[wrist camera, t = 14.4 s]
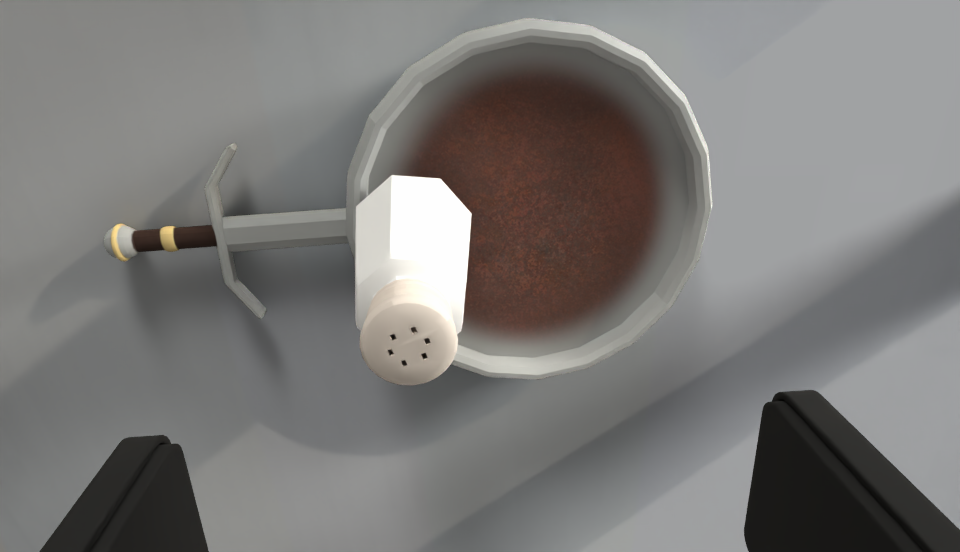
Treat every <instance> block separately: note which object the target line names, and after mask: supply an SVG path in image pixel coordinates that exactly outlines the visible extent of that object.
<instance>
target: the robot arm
mask: <svg viewBox="0 0 960 552" xmlns="http://www.w3.org/2000/svg"><path fill="white" fill-rule="evenodd" d="M744 536H745V542H746V545H747V548H748V551H749V552H960V530H959V529H958V528H957V527H956V526H955V525H954V524H953V523H952V522H951V521H950V520H949V519H948V518H947V517H946V516H945V515H944V514H943V513H942V512H941V511H940V510H939V509H938V508H937V507H936V506H935V505H934V504H933V503H932V502H931V501H930V500H928V499H927V498H926V497H925V496H924V495H923V494H922V493H921V492H920V491H919V490H918V489H917V488H916V487H915V486H914V485H913V484H912V483H911V482H910V481H909V480H908V479H907V478H906V477H905V476H904V475H903V474H902V473H901V472H900V471H899V470H898V469H897V468H896V467H895V466H894V465H893V464H892V463H891V462H889V461H888V460H887V459H886V458H885V457H884V456H883V455H882V454H881V453H880V452H879V451H878V450H877V449H876V448H875V447H874V446H873V445H872V444H871V443H870V442H869V441H868V440H867V439H866V438H865V437H864V436H863V435H862V434H861V433H860V432H859V431H858V430H857V429H856V428H855V427H854V426H853V425H851V424H850V423H849V422H848V421H847V420H846V419H845V418H844V417H843V416H842V415H841V414H840V413H839V412H838V411H837V410H836V409H835V408H834V407H833V406H832V405H831V404H830V403H829V402H828V401H827V400H826V399H825V398H824V397H823V396H822V395H821V394H819V393H818V392H817V391H814V390H804V391H790V392H779V393H777V394H775V396H774V397H773V400H772V402H767V403H766V404H765V405H764V407H763V411H762V418H761V424H760V430H759V437H758V443H757V450H756V456H755V463H754V469H753V475H752V482H751V488H750V495H749V501H748V508H747V514H746V521H745V527H744ZM40 552H209V551H208V547H207V543H206V540H205V536H204V532H203V528H202V524H201V520H200V516H199V512H198V508H197V505H196V501H195V497H194V493H193V489H192V485H191V481H190V477H189V474H188V470H187V466H186V462H185V458H184V454H183V451H182V448H181V446H180V445H179V444H171V442H170V440H169V439H168V437H167V436H164V435H157V436H143V437H128V438H125V439H123V440H122V441H121V442H120V443H119V445H118V446H117V447H116V449H115V450H114V451H113V453H112V454H111V455H110V457H109V458H108V459H107V461H106V462H105V464H104V465H103V466H102V468H101V469H100V470H99V472H98V473H97V474H96V476H95V477H94V478H93V480H92V481H91V483H90V484H89V485H88V487H87V488H86V489H85V491H84V492H83V493H82V495H81V496H80V498H79V499H78V500H77V502H76V503H75V504H74V506H73V507H72V508H71V510H70V511H69V512H68V514H67V515H66V517H65V518H64V519H63V521H62V522H61V523H60V525H59V526H58V527H57V529H56V530H55V531H54V533H53V534H52V536H51V537H50V538H49V540H48V541H47V542H46V544H45V545H44V546H43V548H42V549H41V550H40Z"/></svg>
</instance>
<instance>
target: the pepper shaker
mask: <svg viewBox="0 0 960 552" xmlns="http://www.w3.org/2000/svg"><path fill="white" fill-rule="evenodd" d="M471 215H472V214H471V212H470V211H469V210H468V209H467V208H466V207H465V206H464V205H463V203H462V202H461V201H460V200H459V199H458V198H457V197H456V195H455V194H454V193H453V192H452V191H451V190H450V189H449V188H448V186H447V185H446V184H445V183H444V182H443V181H442V180H441V179H440V178H426V177H412V176H397V175H391V176H390V177H389V178H388V179H387V180H386V181H384V182H383V183H382V184H381V185H380V186H379V187H378V188H376V189H375V190H374V191H373V192H372V193H371V194H370V195H368V196H367V197H366V198H365V199H364V200H363V201H362V202H360V203H359V204H358V205H357V206H356V230H355V320H356V327H357V328H358V329H359V330H360V331H361V334H360V349H361V353H362V357H363V359H364V361H365V362H366V364H367V365H368V367H369V368H370V369H371V370H372V371H373V372H374V373H375V374H376V375H377V376H379V377H381V378H382V379H384V380H386V381H388V382H391V383H395V384H399V385H418V384H423V383H426V382H429V381H431V380H433V379H435V378H437V377H438V376H440V375H441V374H442V373H443V372H445V371H446V370H447V368H448V367H449V366H450V364H451V363H452V362H453V360H454V357H455V355H456V352H457V346H458V336H457V334H458V333H459V332H461V329H462V325H463V315H464V302H465V291H466V282H467V268H468V255H469V242H470V229H471Z"/></svg>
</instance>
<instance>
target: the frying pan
mask: <svg viewBox="0 0 960 552" xmlns="http://www.w3.org/2000/svg"><path fill="white" fill-rule="evenodd" d="M236 150H237V145H236V143H233V144H231V145H230V146H228V147H226V148H225V150H224V152H223V154H222V156H221V157H220V159H219V161H218V163H217V165H216V167H215V169H214V171H213V173H212V175H211V177H210V179H209V181H208V182H207V184H206V186H205V195H206V200H207V205H208V209H209V214H210V219H211V223H212V225H206V226H193V227H179V228H176V227H174V226H166V227H163V228H161V229H152V230H138V231H136V230H135V229H133V228H131V227H128V226H126V225H124V224H121V223H120V224H117V225H115V227H113V228H112V229H110V230H109V231H108V232H107V233H106V235H105V237H104V247H105V249H106V251H107V252H108V253H109V254H110V255H111V256H113V257H115V258H118V259H119V260H120V261H127V260H129V259H130V258H131V257H134V256H135V255H137V253H138V252H146V251H159V250H166V251H169V252H173V251H177V250H179V249H185V248H199V247H212V246H217V251H218V256H219V260H220V265H221V270H222V274H223V279H224V282H225V284H226V286H227V287H228V288H229V289H230V290H231V291H232V292H233V293H234V294H235V295H236V296H237V297H238V298H239V299H240V300H241V301H242V302H243V303H244V304H245V305H246V306H247V307H248V308H249V309H250V310H251V311H252V312H253V313H254V314H255V316H256V317H258V318H259V319H263V317H264V315H265V313H266V310H267V309H266V308H265V307H264V306H263V305H262V304H261V303H260V302H259V301H258V299H257V298H256V297H255V296H254V295H253V294H252V293H251V292H250V291H249V290H248V289H247V288H246V287H245V286H244V285H243V284H242V283H241V282H240V280H239V279H238V278H237V274H236V270H235V265H234V260H233V255H232V252H237V251H250V250H263V249H276V248H290V247H303V246H316V245H329V244H342V243H349V245H350V248H351V251H352V255H353V258H354V261H355V230H356V206H357V205H358V204H359V203H360V202H362V201H363V200H364V199H365V198H366V197H367V196H368V195H370V194H371V193H372V192H373V191H374V190H375V189H376V188H378V187H379V186H380V185H381V184H382V183H383V182H384V181H386V180H387V179H388V178H389V177H390V176H391V175H397V176H412V177H426V178H440V179H441V180H442V181H443V182H444V183H445V184H446V185H447V186H448V188H449V189H450V190H451V191H452V192H453V193H454V194H455V195H456V197H457V198H458V199H459V200H460V201H461V202H462V203H463V205H464V206H465V207H466V208H467V209H468V210H469V211H470V212H471V214H472V215H471V229H470V242H469V255H468V268H467V282H466V291H465V302H464V315H463V325H462V329H461V332H459V333H458V334H457V336H458V346H457V352H456V355H455V357H454V360H453V362H452V363H451V364H452V365H455V366H457V367H460V368H463V369H466V370H469V371H472V372H475V373H478V374H480V375H483V376H486V377H500V378H518V379H537V380H539V379H543V378H547V377H552V376H556V375H560V374H565V373H569V372H573V371H578V370H582V369H586V368H589V367H591V366H593V365H595V364H597V363H599V362H600V361H602V360H604V359H606V358H608V357H610V356H612V355H613V354H615V353H617V352H619V351H621V350H623V349H625V348H626V347H628V346H630V345H632V344H634V343H635V342H636V341H637V340H638V339H639V338H640V337H641V336H642V335H643V334H644V333H645V332H646V331H647V330H648V329H649V328H650V327H652V326H653V325H654V324H655V323H656V322H657V321H658V320H659V319H660V318H661V317H662V316H663V315H664V314H665V313H666V312H667V311H668V310H669V309H670V308H671V307H672V306H673V304H674V302H675V301H676V299H677V297H678V295H679V294H680V292H681V290H682V289H683V287H684V285H685V283H686V282H687V280H688V278H689V277H690V275H691V273H692V271H693V270H694V268H695V266H696V265H697V263H698V261H699V258H700V254H701V250H702V245H703V241H704V237H705V233H706V229H707V225H708V220H709V216H710V212H711V208H712V192H711V179H710V166H709V153H708V147H707V144H706V142H705V140H704V137H703V135H702V133H701V131H700V128H699V126H698V124H697V121H696V119H695V117H694V114H693V112H692V110H691V107H690V105H689V103H688V100H687V98H686V96H685V95H684V94H683V92H682V91H681V90H680V89H679V88H678V87H677V86H676V85H675V84H674V83H673V82H672V81H671V80H670V79H669V78H668V77H667V75H666V74H665V73H664V72H663V71H662V70H661V69H660V68H659V67H658V66H657V65H656V64H655V63H654V62H653V61H652V60H651V58H650V57H649V56H648V55H647V54H646V53H645V52H643V51H641V50H639V49H637V48H635V47H633V46H631V45H629V44H627V43H625V42H623V41H621V40H619V39H617V38H615V37H613V36H611V35H609V34H607V33H605V32H603V31H601V30H599V29H597V28H595V27H593V26H591V25H584V24H575V23H567V22H558V21H549V20H541V19H532V18H525V19H520V20H516V21H512V22H507V23H503V24H499V25H494V26H490V27H486V28H481V29H477V30H473V31H468V32H464V33H462V34H461V35H459V36H458V37H456V38H454V39H453V40H451V41H450V42H448V43H446V44H445V45H443V46H442V47H440V48H438V49H437V50H435V51H434V52H432V53H430V54H429V55H427V56H426V57H424V58H422V59H421V60H419V61H417V62H416V63H414V64H413V65H411V66H409V67H408V69H407V70H406V71H405V72H404V73H403V75H402V76H401V77H400V78H399V80H398V81H397V82H396V83H395V84H394V86H393V87H392V88H391V89H390V91H389V92H388V93H387V94H386V95H385V97H384V98H383V99H382V100H381V102H380V103H379V104H378V105H377V106H376V108H375V109H374V110H373V111H372V113H371V114H370V115H369V116H368V119H367V122H366V124H365V127H364V130H363V132H362V135H361V138H360V140H359V143H358V146H357V148H356V151H355V154H354V156H353V159H352V162H351V164H350V167H349V170H348V172H347V195H346V208H340V209H326V210H313V211H299V212H285V213H272V214H258V215H244V216H230V217H225V216H224V211H223V207H222V202H221V197H220V192H219V187H218V184H219V182H220V181H221V179H222V177H223V175H224V173H225V171H226V169H227V167H228V165H229V163H230V161H231V160H232V158H233V156H234V154H235V152H236Z"/></svg>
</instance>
